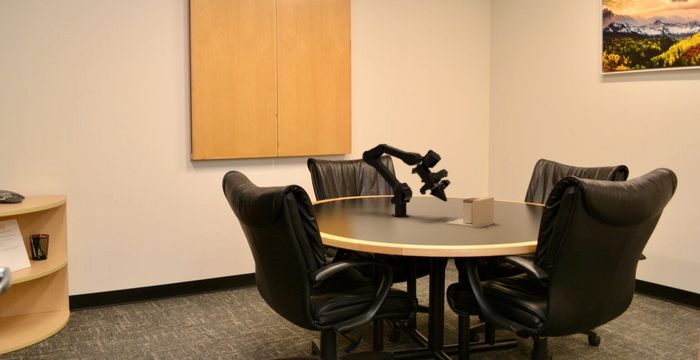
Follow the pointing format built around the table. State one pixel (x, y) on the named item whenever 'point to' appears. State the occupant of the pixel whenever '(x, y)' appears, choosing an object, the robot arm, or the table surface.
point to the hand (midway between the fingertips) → (446, 201)
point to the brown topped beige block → (468, 210)
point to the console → (479, 213)
